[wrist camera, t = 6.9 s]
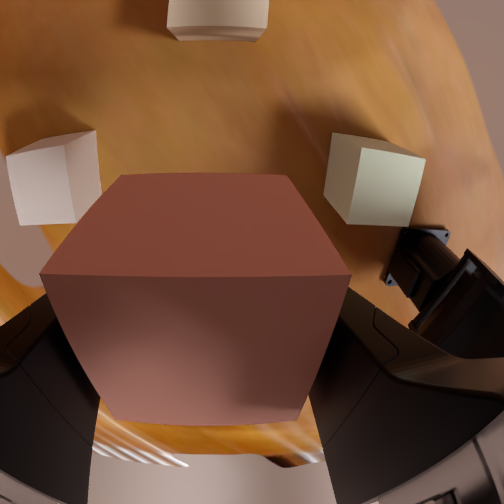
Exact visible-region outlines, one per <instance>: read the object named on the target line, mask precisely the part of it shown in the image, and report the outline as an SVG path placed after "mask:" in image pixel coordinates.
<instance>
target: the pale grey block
mask: <svg viewBox="0 0 504 504" xmlns="http://www.w3.org/2000/svg"><path fill="white" fill-rule="evenodd" d="M6 162H7V168H8V174H9V180H10V185H11V189H12V194H13V199H14V204H15V208H16V212H17V216H18V220H19V223H20V226H21V225H41V224H63V223H77V222H78V221H79V219H80V218H81V217H82V216H83V215H84V214H85V212H86V211H87V210H88V209H89V208H90V207H91V206H92V204H93V203H94V202H95V201H96V200H97V199H98V198H99V197H100V196H101V195H102V190H101V182H100V174H99V164H98V153H97V141H96V130H93V131H86V132H79V133H72V134H66V135H60V136H54V137H49V138H43V139H40V140H38V141H36V142H34V143H32V144H29V145H27V146H25V147H23V148H21V149H19V150H17V151H15V152H13V153H11V154H9V155H7V156H6Z"/></svg>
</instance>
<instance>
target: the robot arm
mask: <svg viewBox="0 0 504 504" xmlns="http://www.w3.org/2000/svg"><path fill="white" fill-rule="evenodd" d="M406 231H407V232H406ZM405 232H406V233H405ZM445 234H446V235H445ZM449 236H450V232H449V231H448V230H447V229H439V228H424V227H403V228H402V230H401V232H400V235H399V238H398V242H397V245H396V248H395V251H394V254H393V257H392V259H391V262H390V265H389V268H388V271H387V274H386V276H385V279H384V283H385V284H386V285H387V286H396V285H398V286H399V287H400V288H401V290H402V291H403V293H404V294H405V295H406V297H407V298H410V299H411V301H412V302H413V304H414V305H415V306H416V308H417V309H418V311H419V312H420V313H419V314H418V315H417V316H416V317H415V318H414V319H413V320H411V322H410V323H409V324H408V327H409V329H408V328H406V327H405V326H403V325H402V324H400V323H399V322H397V321H396V320H394V319H393V318H391V317H390V316H389V315H387V314H386V313H384V312H383V311H382V310H380V309H379V308H377V307H376V308H375V305H373V304H372V303H371V302H369V301H368V300H366V299H365V298H364V297H362V296H361V295H359V294H358V293H357V292H355V291H354V290H352V289H351V288H350V287H348V288H347V292H346V295H345V298H344V301H343V304H342V307H341V310H340V313H339V316H338V319H337V322H336V324H335V327H334V330H333V333H332V336H331V338H330V341H329V344H328V346H327V349H326V352H325V354H324V357H323V360H322V362H321V365H320V367H319V370H318V372H317V375H316V377H315V379H314V382H313V384H312V387H311V389H310V391H309V394H308V395H309V399H310V402H311V406H312V410H313V413H314V417H315V421H316V425H317V428H318V432H319V436H320V440H321V443H322V447H323V448H324V449H323V452H324V455H325V459H326V463H327V467H328V471H329V475H330V479H331V483H332V486H333V490H334V494H335V498H336V502H337V504H370V503H373V502H376V501H379V504H504V282H503V281H502V280H501V279H500V278H499V277H498V275H497V274H496V273H495V272H494V271H493V270H492V269H490V268H489V267H488V266H487V265H486V264H485V263H484V262H483V261H482V260H481V259H479V258H478V257H477V256H476V255H475V254H474V253H472V252H471V251H470V250H469V249H468V248H467V249H466V251H465V252H464V255H463V257H462V258H461V260H460V259H459V258H458V257H457V256H456V255H455V254H454V253H453V252H452V251H451V250H450V249H449V248H448V247H447V246H446V244H447V242H448V239H449ZM389 280H390V281H389ZM99 402H100V396H99V394H98V393H97V391H96V389H95V388H94V386H93V384H92V383H91V381H90V379H89V378H88V376H87V374H86V373H85V371H84V369H83V367H82V366H81V364H80V362H79V360H78V358H77V357H76V355H75V353H74V351H73V349H72V347H71V345H70V343H69V341H68V339H67V337H66V335H65V333H64V331H63V329H62V327H61V325H60V323H59V321H58V318H57V316H56V314H55V312H54V309H53V307H52V305H51V302H50V300H49V298H48V295H47V293H46V294H44V295H43V296H42V297H40V298H39V299H37V300H36V301H35V302H33V303H32V304H31V305H30V306H28V307H26V308H25V309H24V310H23V311H21V312H20V313H19V314H17V315H16V316H14V317H13V318H12V319H10V320H9V321H8V322H6V323H5V324H3V325H2V326H0V504H57V503H60V504H87V502H88V486H89V475H90V465H91V455H92V446H93V439H94V432H95V426H96V419H97V413H98V408H99Z"/></svg>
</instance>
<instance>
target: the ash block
mask: <svg viewBox="0 0 504 504" xmlns="http://www.w3.org/2000/svg"><path fill="white" fill-rule="evenodd" d="M268 6H269V0H169V6H168V16H167V28H168V30H169V31H170V32H171V33H172V34H173V35H174V36H175V37H176V38H177V39H178V40H179V41H192V40H228V41H249V42H256V41H257V40H258V38H259V37H260V36H261V35H262V34H263V32H264V31H265V30H266V29H267V19H268Z"/></svg>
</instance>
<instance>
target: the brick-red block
mask: <svg viewBox="0 0 504 504" xmlns="http://www.w3.org/2000/svg"><path fill="white" fill-rule="evenodd" d="M39 274H40V277H41V280H42V282H43V285H44V288H45V290H46V293H47V295H48V298H49V300H50V302H51V305H52V307H53V309H54V312H55V314H56V316H57V318H58V321H59V323H60V325H61V327H62V329H63V331H64V333H65V335H66V337H67V339H68V341H69V343H70V345H71V347H72V349H73V351H74V353H75V355H76V357H77V358H78V360H79V362H80V364H81V366H82V367H83V369H84V371H85V373H86V374H87V376H88V378H89V379H90V381H91V383H92V384H93V386H94V388H95V389H96V391H97V393H98V394H99V396H100V397H101V399H102V400H103V402H104V403H105V405H106V406H107V408H108V409H109V411H110V412H111V414H112V415H113V417H114V418H115V419H116V420H124V421H133V422H142V423H154V424H169V425H195V426H223V425H249V424H264V423H276V422H286V421H294V420H297V419H298V416H299V414H300V412H301V410H302V408H303V405H304V403H305V401H306V398H307V396H308V394H309V391H310V389H311V387H312V384H313V382H314V379H315V377H316V375H317V372H318V370H319V367H320V365H321V362H322V360H323V357H324V354H325V352H326V349H327V346H328V344H329V341H330V338H331V336H332V333H333V330H334V327H335V324H336V322H337V319H338V316H339V313H340V310H341V307H342V304H343V301H344V298H345V295H346V292H347V288H348V285H349V282H350V279H351V276H352V274H351V273H350V271H349V269H348V268H347V266H346V264H345V263H344V261H343V260H342V258H341V256H340V255H339V253H338V252H337V250H336V248H335V247H334V245H333V244H332V242H331V240H330V239H329V237H328V236H327V234H326V233H325V231H324V229H323V228H322V226H321V225H320V223H319V222H318V220H317V219H316V217H315V216H314V214H313V213H312V211H311V210H310V208H309V207H308V205H307V204H306V202H305V201H304V199H303V198H302V196H301V195H300V193H299V192H298V190H297V189H296V188H295V186H294V185H293V183H292V182H291V180H290V179H289V178H288V176H287V175H276V174H250V173H158V174H133V175H121V176H120V177H119V178H118V179H117V180H116V181H115V182H114V183H113V184H112V185H111V186H110V187H109V188H108V189H107V190H106V191H105V193H104V194H103V195H102V196H101V197H100V198H99V199H98V200H97V201H96V203H95V204H94V205H93V206H92V207H91V208H90V209H89V210H88V212H87V213H86V214H85V215H84V216H83V217H82V219H81V220H80V221H79V222H78V223H77V225H76V226H75V227H74V228H73V229H72V231H71V232H70V233H69V234H68V236H67V237H66V238H65V239H64V241H63V242H62V243H61V245H60V246H59V247H58V249H57V250H56V251H55V252H54V254H53V255H52V257H51V258H50V259H49V261H48V262H47V263H46V265H45V266H44V267H43V269H42V270H41V272H40V273H39Z"/></svg>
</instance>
